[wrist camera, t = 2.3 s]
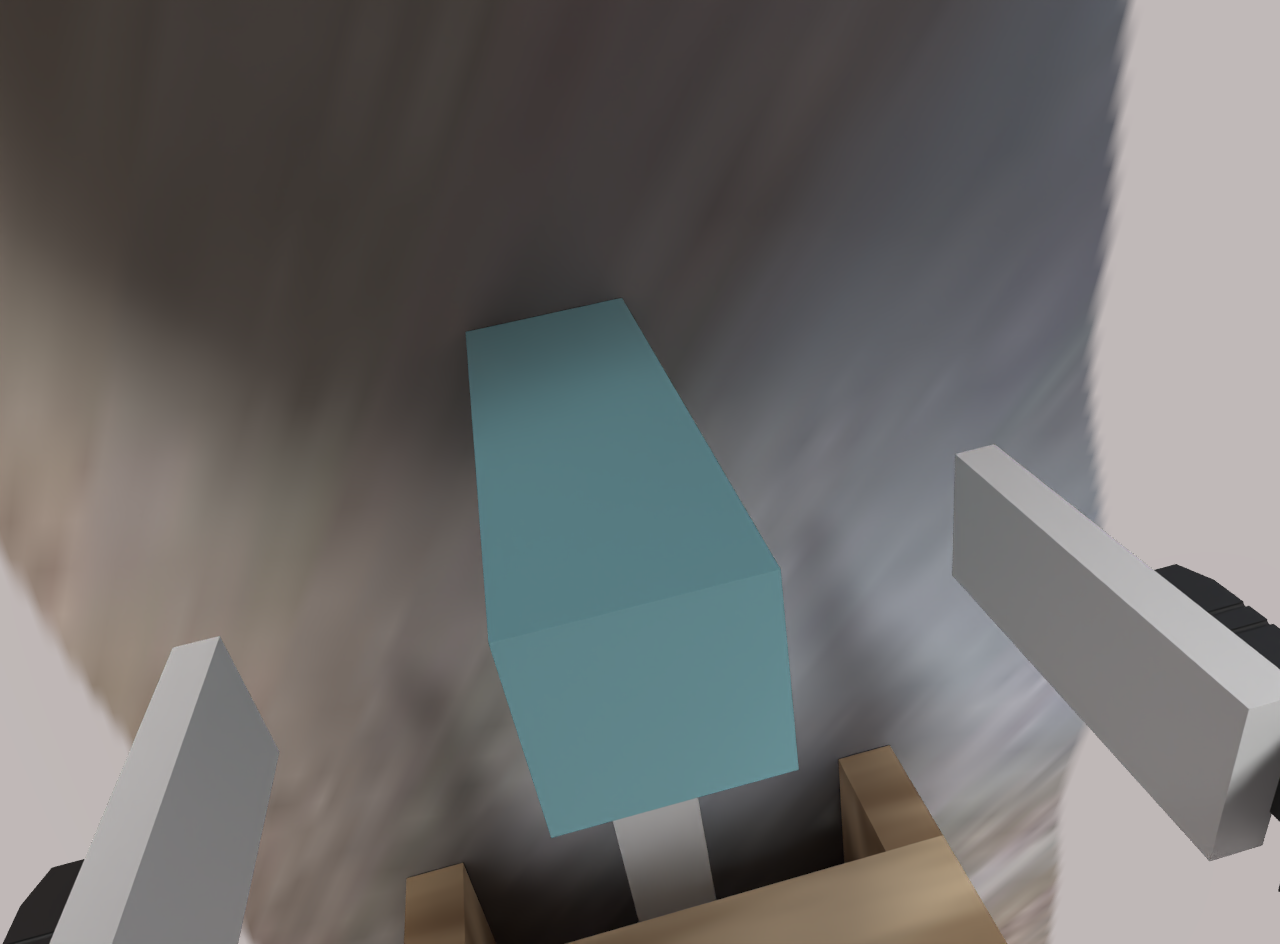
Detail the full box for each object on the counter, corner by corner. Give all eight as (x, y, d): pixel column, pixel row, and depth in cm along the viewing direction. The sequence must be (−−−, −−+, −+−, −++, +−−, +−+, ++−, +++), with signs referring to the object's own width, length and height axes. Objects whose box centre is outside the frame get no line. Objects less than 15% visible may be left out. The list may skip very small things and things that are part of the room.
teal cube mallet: (465, 331, 22) (488, 643, 11) (621, 297, 22) (780, 569, 12) (631, 937, 35) (711, 1334, 25) (727, 909, 35) (845, 1289, 25)
